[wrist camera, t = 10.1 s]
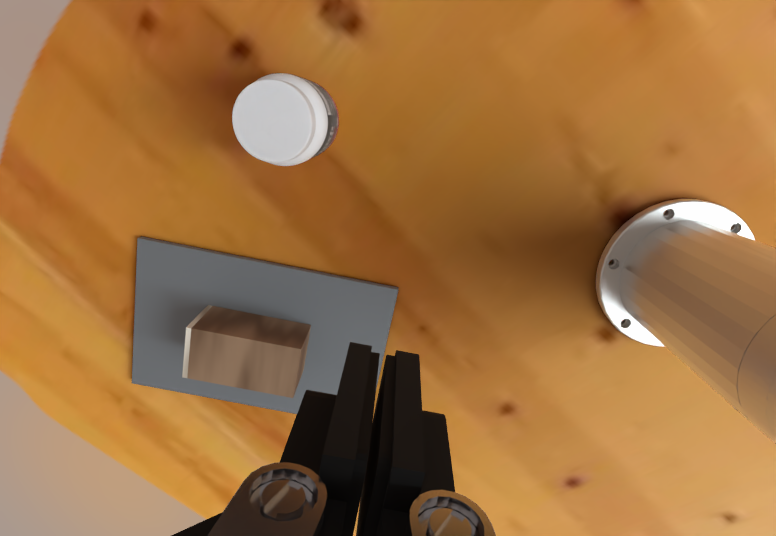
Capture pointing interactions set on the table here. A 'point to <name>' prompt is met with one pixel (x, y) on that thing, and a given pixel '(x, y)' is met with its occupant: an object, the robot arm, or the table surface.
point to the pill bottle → (285, 119)
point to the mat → (252, 295)
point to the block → (246, 351)
